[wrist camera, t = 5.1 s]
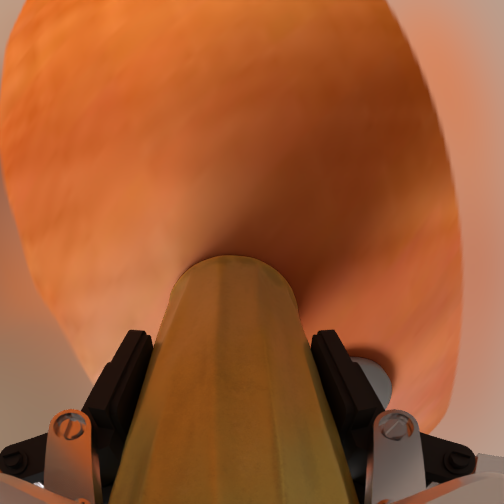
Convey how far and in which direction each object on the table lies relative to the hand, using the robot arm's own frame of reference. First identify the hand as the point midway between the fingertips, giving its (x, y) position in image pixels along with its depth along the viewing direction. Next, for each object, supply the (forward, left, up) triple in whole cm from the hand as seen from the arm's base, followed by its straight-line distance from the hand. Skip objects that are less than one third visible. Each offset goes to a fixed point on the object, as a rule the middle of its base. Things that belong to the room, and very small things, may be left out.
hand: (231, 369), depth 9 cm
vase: (0, 0, -4) cm, 4 cm away
